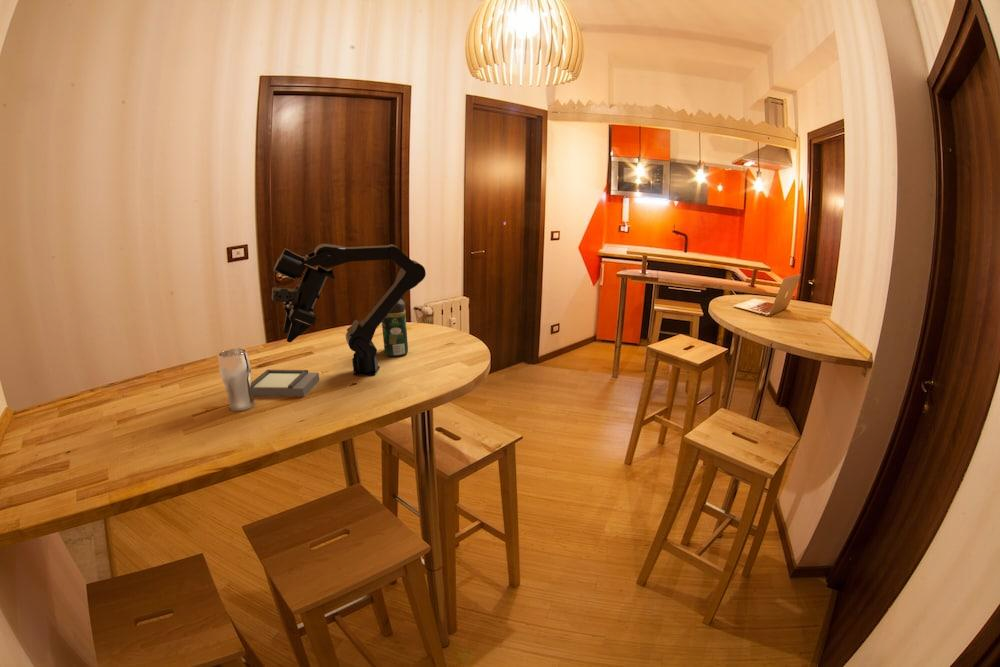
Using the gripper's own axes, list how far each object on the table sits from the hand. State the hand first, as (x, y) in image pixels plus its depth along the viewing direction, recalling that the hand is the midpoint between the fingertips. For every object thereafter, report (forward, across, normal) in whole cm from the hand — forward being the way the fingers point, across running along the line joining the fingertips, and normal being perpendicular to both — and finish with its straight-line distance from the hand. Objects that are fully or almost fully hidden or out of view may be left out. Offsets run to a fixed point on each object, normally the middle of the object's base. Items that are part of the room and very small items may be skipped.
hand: (286, 337), depth 140 cm
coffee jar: (-5, -12, +36) cm, 39 cm away
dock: (+14, +1, +6) cm, 15 cm away
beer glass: (+20, +8, -4) cm, 22 cm away
